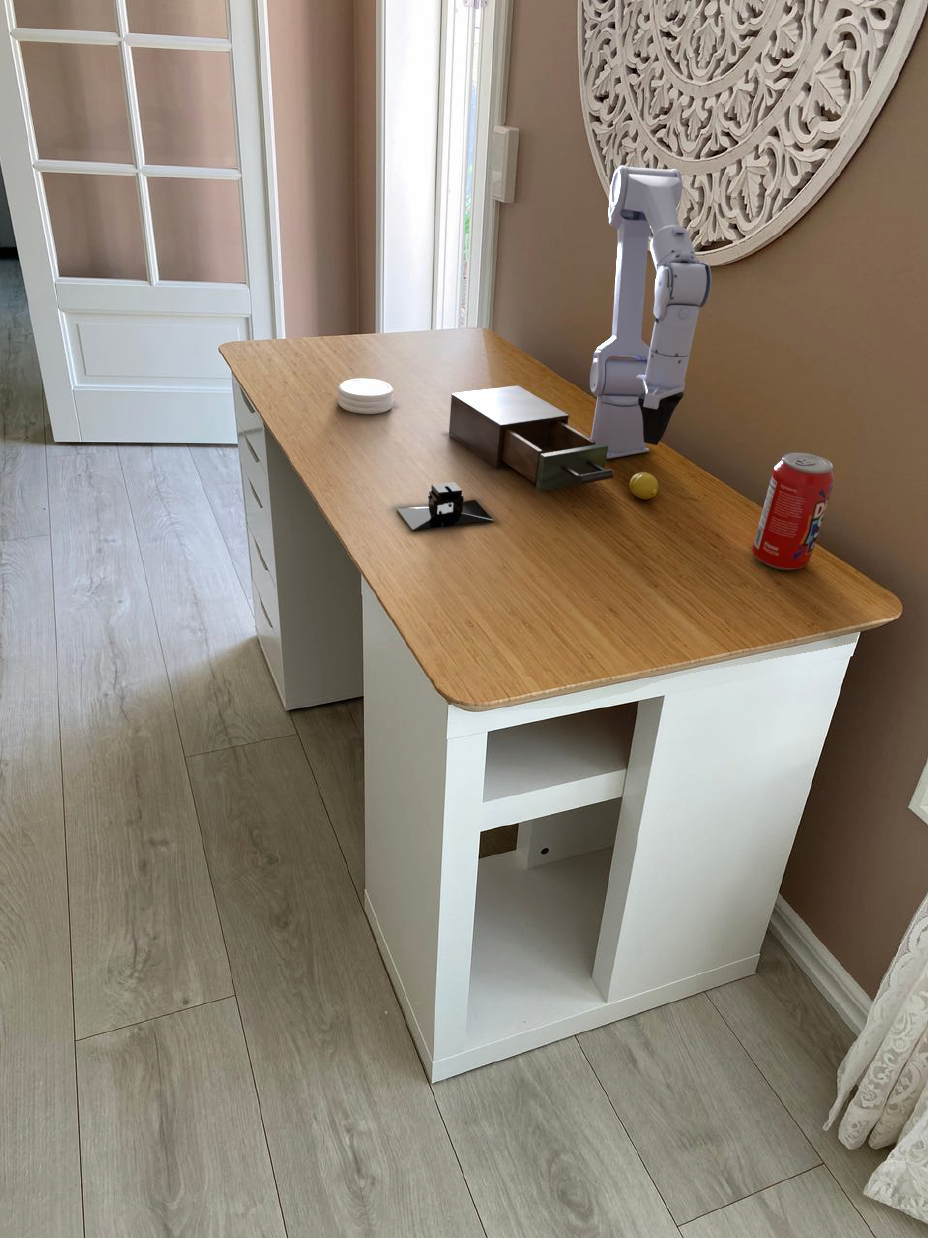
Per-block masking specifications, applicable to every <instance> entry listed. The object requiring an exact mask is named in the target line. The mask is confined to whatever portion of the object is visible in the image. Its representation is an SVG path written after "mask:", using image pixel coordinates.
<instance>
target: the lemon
mask: <svg viewBox="0 0 928 1238" xmlns="http://www.w3.org/2000/svg"><path fill="white" fill-rule="evenodd" d="M629 490H630V492H631V493H632V495H633V496H635V497H636V498H638V499H640V500H644V501H645V500H650V499H652V498H654V497H655V496H656V495H657V493H658V491H659V482H658V480H657V478H656V477H655V476H654V475H653V474H651V473H649V472H646V471H640V472H637V473H635V474H634V475H633V476H632V477H631V479H630V481H629Z"/></svg>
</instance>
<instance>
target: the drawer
mask: <svg viewBox="0 0 928 1238" xmlns="http://www.w3.org/2000/svg"><path fill="white" fill-rule="evenodd" d="M590 438H591V437H589V436H587V435H585V434H583V433H582V432H580V431H579V430H577V429H575V428H574V427H572V426H570V425H566V424H565V423H563V422H561V421H560V420H558V421H552V422H545V423H538V424H532V425H525V426H518V427H512V428H505V429H503V439H502V449H501V458H500V459H501V460H502V461H504V462H505V463H506V464H508V465H509V466H508V467H511V468H512V469H514V470H515V471H517V472H518V473H519V474H520V475H522V476H524V478H526V479H528V480H529V481H530V482H532V483H534V484H535V486H536V487H535V489H536V490H537V491H539V492H545V491H550V490H556V489H561V488H566V487H570V486H576V485H584V484H589V483H595V482H600V481H604V480H605V481H606V480H610V479H613V478H614V474H615V473H614V470H613V469H611V468H609V469H606V464H607V459H606V458H607V452H608V445H606V444H604V443H603V444H597V445H595V444H596V442H595V441H593V440H592V439H590Z"/></svg>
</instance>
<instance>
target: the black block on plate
mask: <svg viewBox="0 0 928 1238" xmlns="http://www.w3.org/2000/svg"><path fill="white" fill-rule="evenodd" d="M427 498H428V503H427V504H422V505H421V504H420V505H412V506H403V507H397V508H396V512H397V513H398V514H399V516H400V517H401V519H402V520H403V522H405V524H406V525H407V526H408V528H409V529H410V531H411V532H412V533H413V532H415V533H416V532H422V531H430V530H439V529H440V530H441V529H448V528H456V527H464V526H473V525H480V524H481V525H482V524H490V523H494V519H493V518H492V516H491V515H490V514H489V513H488V512H487V511H486V509H484V508H483V507H482V506H481V505H480V503H479V502H478V501H477V500H476V499H469V500H465V498H464V495H463V489H462V488H461V487H460V486H459V485H458V484H457V482H455V481H454V482H453V481H452V482H442V483H432V484H431V488H430V490H429V491H428V496H427Z"/></svg>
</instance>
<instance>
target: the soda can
mask: <svg viewBox="0 0 928 1238" xmlns="http://www.w3.org/2000/svg"><path fill="white" fill-rule="evenodd" d="M833 468H834V465H833V463H832V462H830V460H828V459H827V458H824V457H822V456H819V455H816V454H813V453H808V452H801V451H799V452H798V451H792V452H791V451H790V452H787V453H784V454H783V455H782V457H781V460H780V461H779V462H778V463H776V464H775V465H774V467H773V470H772V473H771V477H770V481H769V485H768V489H767V492H766V496H765V500H764V502H763V503H764V504H763V507H762V511H761V514H760V518H759V521H758V526H757V529H756V532H755V537H754V541H753V544H752V554H753V556H755V558H756V559H757V560H758V561H760V562H761V563H762V564H763V565H766V566H768V567H770V568H772V569H775V570H780V571H794V570H799V569H802V568H805V567H806V566H808V564H809V563H810V560H811V558H812V555H813V551H814V548H815V545H816V542H817V538H818V535H819V533H820V529H821V526H822V523H823V518H824V516H825V513H826V510H827V507H828V503H829V500H830V497H831V494H832V490H833V488H834V484H835V475H834V473H833Z"/></svg>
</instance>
